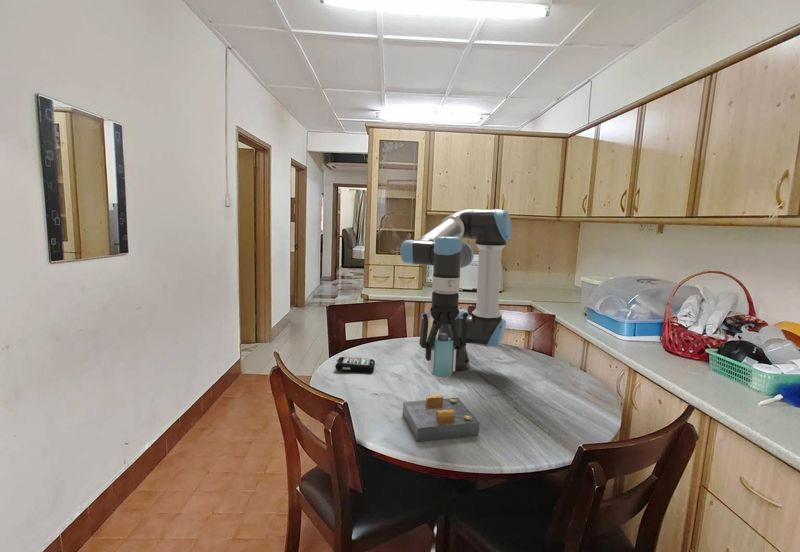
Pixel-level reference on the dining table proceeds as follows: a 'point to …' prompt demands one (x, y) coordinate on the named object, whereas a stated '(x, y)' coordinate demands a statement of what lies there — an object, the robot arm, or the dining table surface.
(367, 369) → the phone
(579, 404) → the dining table surface
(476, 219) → the robot arm
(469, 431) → the fixture block
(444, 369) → the pump
